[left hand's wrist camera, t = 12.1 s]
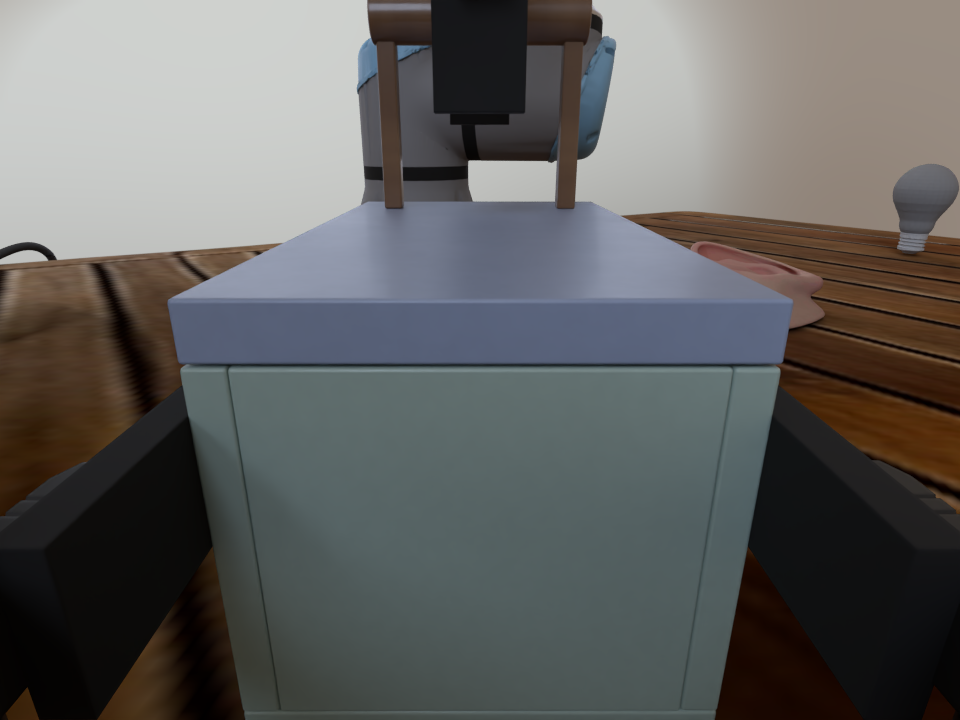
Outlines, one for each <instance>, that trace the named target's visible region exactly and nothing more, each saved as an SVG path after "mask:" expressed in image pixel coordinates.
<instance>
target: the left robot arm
mask: <svg viewBox="0 0 960 720" xmlns="http://www.w3.org/2000/svg"><path fill="white" fill-rule="evenodd" d="M23 250H34V251H38V252H40V253H42V254H43V255H44V256H45V257H46V258H47V259H48V261H51V260H57V258H56V257H55V255H54V254H53V253H52V252H51V251H50V250H49V249H48V248H46V247H45V246H43V245H40V244H37V243H32V242H25V243H18V244H14V245H11V246H8V247H5V248H3V249H0V259H2V258H4V257H6V256H8V255H11V254H13V253H16V252H19V251H23ZM212 546H213V545H212V540H211V534H210V529H209V524H208V518H207V513H206V508H205V502H204V497H203V492H202V486H201V481H200V476H199V470H198V465H197V460H196V454H195V449H194V443H193V438H192V433H191V427H190V422H189V417H188V411H187V406H186V401H185V395H184V390H183V385H182V386H181V387H180V388H178V389H177V390H176V391H175V392H173V393H172V394H171V395H170V396H168V397H167V398H166V399H165V400H163V401H162V402H161V403H160V404H158V405H157V406H156V407H155V408H153V409H152V410H151V411H150V412H149V413H147V414H146V415H145V416H144V417H142V418H141V419H140V420H139V421H137V422H136V423H135V424H134V425H132V426H131V427H130V428H129V429H127V430H126V431H125V432H124V433H122V434H121V435H120V436H119V437H117V438H116V439H115V440H114V441H113V442H111V443H110V444H109V445H108V446H106V447H105V448H104V449H103V450H101V451H100V452H99V453H98V454H96V455H95V456H94V457H93V458H91V459H90V460H89V461H88V462H82V463H80V464H78V465H76V466H74V467H72V468H70V469H68V470H66V471H64V472H62V473H60V474H58V475H56V476H54V477H52V478H50V479H48V480H47V481H46V482H45V483H43V484H42V485H41V486H39V487H38V488H37V489H36V490H34V491H33V492H32V493H30V494H29V495H28V496H26V500H25V501H20V502H19V503H17V504H16V505H15V506H14V507H12V508H11V509H10V510H8V511H7V512H6V516H5V517H0V720H8V719H7V716H6V712H7V711H8V710H9V708H10V707H11V706H12V705H13V704H14V702H15V701H16V700H17V699H18V698H19V696H20V695H21V694H22V693H23V692H24V690H25V689H26V688H27V687H28V689H29V692H30V695H31V698H32V700H33V703H34V706H35V709H36V712H37V714H38V717H39V720H97V719H98V717H99V716H100V714H101V713H102V711H103V710H104V708H105V707H106V705H107V704H108V702H109V701H110V699H111V698H112V696H113V695H114V693H115V692H116V690H117V689H118V687H119V686H120V684H121V683H122V681H123V680H124V678H125V677H126V675H127V674H128V672H129V671H130V669H131V668H132V666H133V665H134V663H135V662H136V660H137V659H138V657H139V656H140V654H141V653H142V651H143V650H144V648H145V647H146V645H147V644H148V642H149V641H150V639H151V638H152V636H153V635H154V633H155V632H156V630H157V629H158V627H159V626H160V624H161V623H162V621H163V620H164V618H165V617H166V615H167V614H168V612H169V611H170V609H171V608H172V606H173V605H174V603H175V602H176V600H177V599H178V597H179V596H180V594H181V593H182V591H183V590H184V588H185V587H186V585H187V584H188V582H189V581H190V579H191V578H192V576H193V575H194V573H195V572H196V570H197V569H198V567H199V566H200V564H201V563H202V561H203V560H204V558H205V557H206V555H207V554H208V552H209V551H210V549H211V548H212ZM748 547H749V548H750V550H751V551H752V553H753V554H754V556H755V557H756V559H757V560H758V562H759V563H760V565H761V566H762V568H763V569H764V571H765V572H766V574H767V575H768V577H769V578H770V580H771V581H772V583H773V584H774V586H775V587H776V589H777V590H778V592H779V593H780V595H781V596H782V598H783V599H784V601H785V602H786V604H787V605H788V607H789V608H790V610H791V611H792V613H793V614H794V616H795V617H796V619H797V620H798V622H799V623H800V625H801V626H802V628H803V629H804V631H805V632H806V634H807V635H808V637H809V638H810V640H811V641H812V643H813V644H814V646H815V647H816V649H817V650H818V652H819V653H820V655H821V656H822V658H823V659H824V661H825V662H826V664H827V665H828V667H829V668H830V670H831V671H832V673H833V674H834V676H835V677H836V679H837V680H838V682H839V683H840V685H841V686H842V688H843V689H844V691H845V692H846V694H847V695H848V697H849V698H850V700H851V701H852V703H853V704H854V706H855V707H856V709H857V710H858V712H859V713H860V715H861V716H862V718H863V719H864V720H922V717H923V714H924V711H925V709H926V706H927V703H928V700H929V697H930V695H931V692H932V689H933V686H934V685H935V686H936V687H937V689H938V690H939V691H940V692H941V693H942V695H943V696H944V697H945V698H946V699H947V700H948V702H949V703H950V704H951V705H952V706H953V708H954V709H955V710H956V711H955V713H954V716H953V719H952V720H960V514H956V510H955V509H954V508H952V507H951V506H950V505H948V504H947V503H946V502H944V501H943V500H942V499H940V498H936V497H935V494H934V493H933V492H931V491H930V490H929V489H927V488H926V487H925V486H924V485H922V484H921V483H920V482H918V481H917V480H916V479H914V478H913V477H912V476H910V475H908V474H906V473H904V472H902V471H900V470H898V469H896V468H894V467H891V466H889V465H887V464H885V463H883V462H881V461H879V460H871V459H869V458H868V457H867V456H866V455H864V454H863V453H862V452H861V451H859V450H858V449H857V448H856V447H854V446H853V445H852V444H851V443H849V442H848V441H847V440H846V439H844V438H843V437H842V436H841V435H840V434H838V433H837V432H836V431H835V430H833V429H832V428H831V427H830V426H828V425H827V424H826V423H825V422H823V421H822V420H821V419H820V418H818V417H817V416H816V415H815V414H813V413H812V412H811V411H810V410H808V409H807V408H806V407H805V406H803V405H802V404H801V403H800V402H799V401H797V400H796V399H795V398H794V397H792V396H791V395H790V394H789V393H787V392H786V391H785V390H784V389H782V388H781V387H780V386H779V385H778V388H777V394H776V399H775V404H774V409H773V415H772V419H771V424H770V430H769V435H768V440H767V446H766V451H765V456H764V462H763V467H762V472H761V478H760V483H759V488H758V493H757V499H756V504H755V509H754V515H753V520H752V525H751V531H750V536H749V541H748Z"/></svg>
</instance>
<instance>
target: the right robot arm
mask: <svg viewBox="0 0 960 720" xmlns="http://www.w3.org/2000/svg"><path fill="white" fill-rule="evenodd" d="M527 21H528V0H431V29H432V46H397V49H398V73H399V96H400V120H401V144H402V167H403V191H404V202H473V201H472V197H471V194H470V191H469V186H468V161H469V160H482V161H548V162H551V163H552V162H554V161H557V149H558V126H559V103H560V80H561V57H562V46H527ZM602 24H603V18H602V15H601V14H600V13H599V12H598V11H597V10H596V8H595V7H594V6H593V5H592V18H591V27H590V33H589V38H588V41H587V44H586V45H585V46H583V61H582V80H581V98H580V116H579V135H578V153H577V160H579V159H584V158H586V157H588V156H589V155H590V154H591V153H592V152H593V151H594V149H595V148H596V145H597V142H598V139H599V135H600V130H601V126H602V121H603V116H604V112H605V107H606V102H607V97H608V91H609V86H610V81H611V75H612V69H613V63H614V54H615V50H616V41H615V40H614V39H612V38H609V37H608V36H606V37H603V38H602ZM358 79H359V83H358V85H357V92H358V94H359V106H360V119H361V134H362V147H363V161H364V176H365V191H364V195H363V199H362V203H361V205H362V204H364V203H366V202H385V201H384V182H383V163H382V145H381V126H380V107H379V88H378V69H377V50H376V46H375V45H374V44H373V42H372V40H371V38H370V39H368V40H367V41H366V42H365V43H364V44H363V45H362V47H361V48H360V51H359V55H358Z"/></svg>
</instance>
